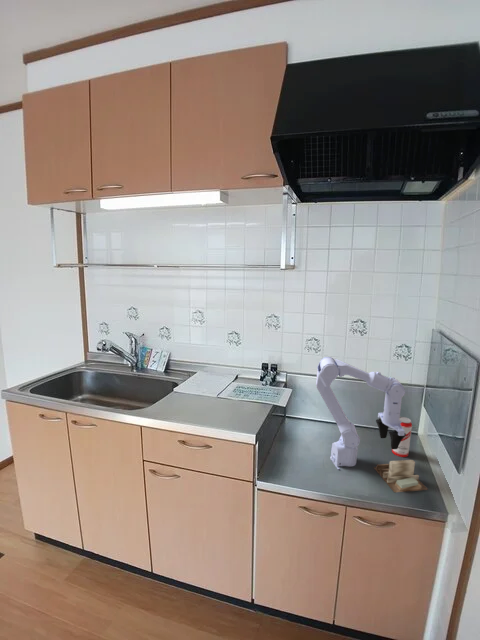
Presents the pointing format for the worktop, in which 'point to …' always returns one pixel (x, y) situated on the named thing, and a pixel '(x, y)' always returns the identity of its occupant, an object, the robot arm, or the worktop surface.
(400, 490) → the block
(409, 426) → the beer can
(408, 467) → the tan wooden block
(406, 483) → the offcut top
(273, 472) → the worktop surface
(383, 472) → the rack
